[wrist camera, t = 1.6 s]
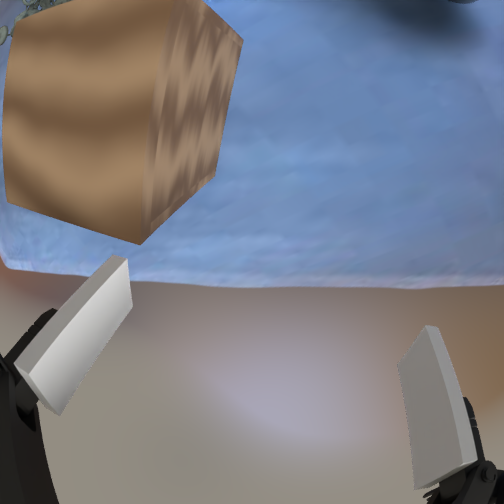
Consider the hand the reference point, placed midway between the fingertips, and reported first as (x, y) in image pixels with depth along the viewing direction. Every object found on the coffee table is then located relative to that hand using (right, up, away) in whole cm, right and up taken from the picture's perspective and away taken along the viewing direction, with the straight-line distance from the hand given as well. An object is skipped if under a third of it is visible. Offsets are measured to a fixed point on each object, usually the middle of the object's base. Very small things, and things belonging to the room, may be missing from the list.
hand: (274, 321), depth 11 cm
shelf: (-11, +21, +18) cm, 30 cm away
